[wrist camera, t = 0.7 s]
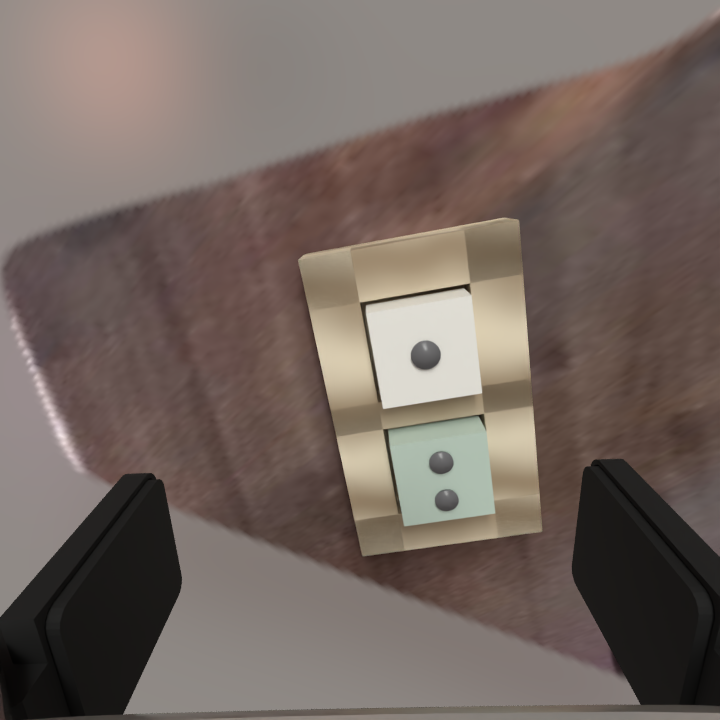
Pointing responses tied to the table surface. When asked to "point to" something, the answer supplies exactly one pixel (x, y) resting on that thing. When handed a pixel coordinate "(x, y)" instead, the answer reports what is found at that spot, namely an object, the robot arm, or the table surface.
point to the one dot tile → (425, 348)
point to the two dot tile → (442, 470)
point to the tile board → (493, 406)
